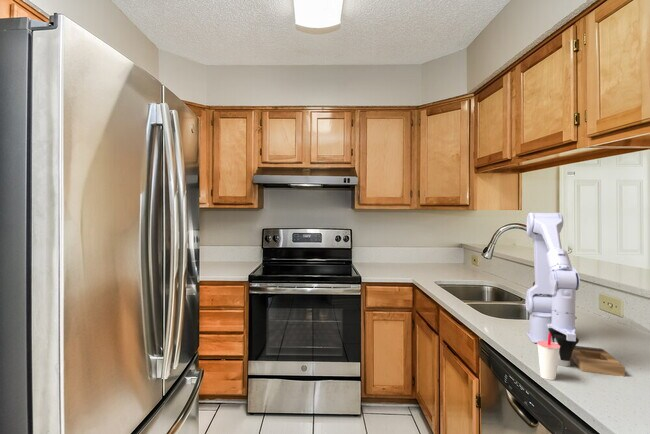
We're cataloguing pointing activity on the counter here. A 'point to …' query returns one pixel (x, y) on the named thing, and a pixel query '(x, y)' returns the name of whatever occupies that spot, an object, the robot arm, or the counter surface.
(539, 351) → the cup
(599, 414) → the counter surface
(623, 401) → the counter surface
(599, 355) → the jig
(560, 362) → the salt shaker
